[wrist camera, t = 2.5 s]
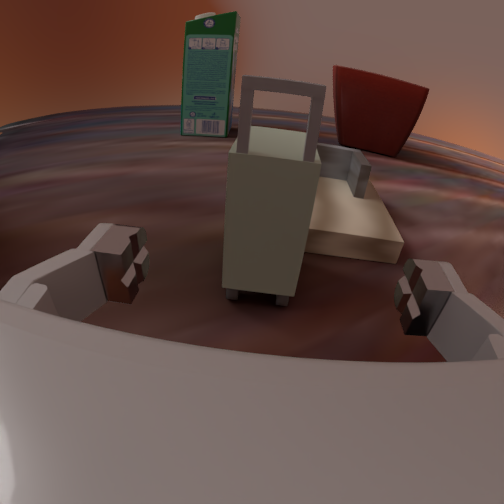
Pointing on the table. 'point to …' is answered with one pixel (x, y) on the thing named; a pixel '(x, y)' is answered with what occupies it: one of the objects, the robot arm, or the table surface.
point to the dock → (350, 210)
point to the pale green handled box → (270, 195)
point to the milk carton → (209, 74)
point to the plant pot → (375, 109)
